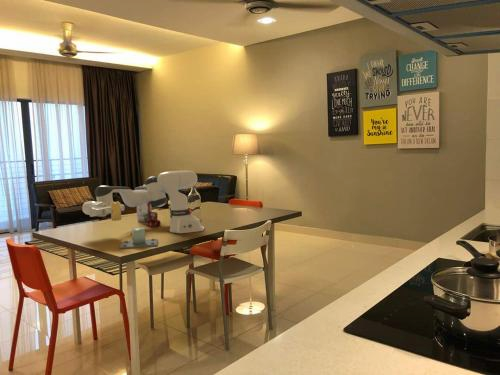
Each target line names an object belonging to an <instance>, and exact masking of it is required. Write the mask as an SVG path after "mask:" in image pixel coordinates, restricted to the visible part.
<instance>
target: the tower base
mask: <svg viewBox="0 0 500 375" xmlns="http://www.w3.org/2000/svg"><path fill="white" fill-rule="evenodd" d="M145 230H146V229H145V228H144V227H137V228H135V227H134V228H132V229H131V236H132V240H124V241H121V243H120V246H119V250H129V249H139V248H152V247H158V242H159V241H158V238H151V239H150V238H149V239H146V231H145Z"/></svg>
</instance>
